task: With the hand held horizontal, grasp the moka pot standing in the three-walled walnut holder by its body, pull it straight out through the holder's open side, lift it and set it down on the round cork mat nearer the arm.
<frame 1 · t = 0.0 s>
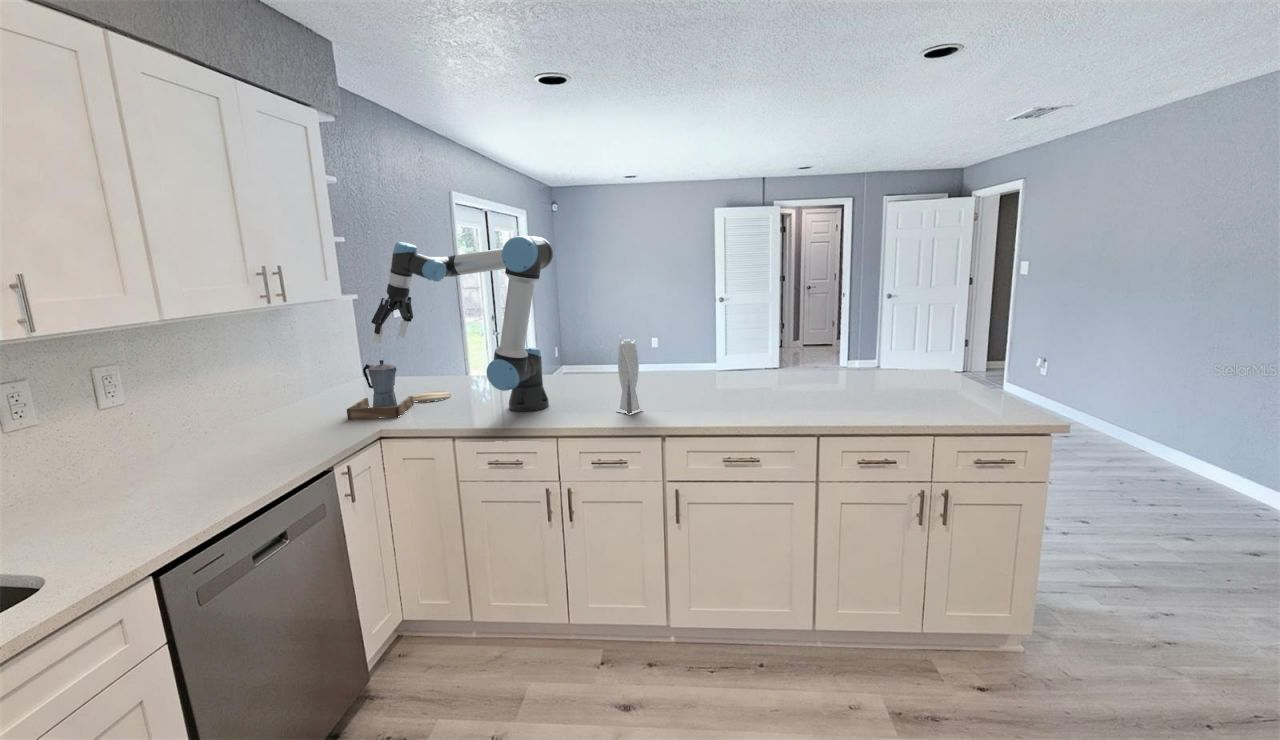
hand: (389, 339, 212), 28 cm above the worktop, tool tilted 20°, fingers open, 13 cm apart
walnut holder: (384, 410, 218), on the worktop
skyscraper: (629, 411, 208), on the worktop
moka pot: (384, 411, 218), on the worktop
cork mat: (431, 397, 236), on the worktop
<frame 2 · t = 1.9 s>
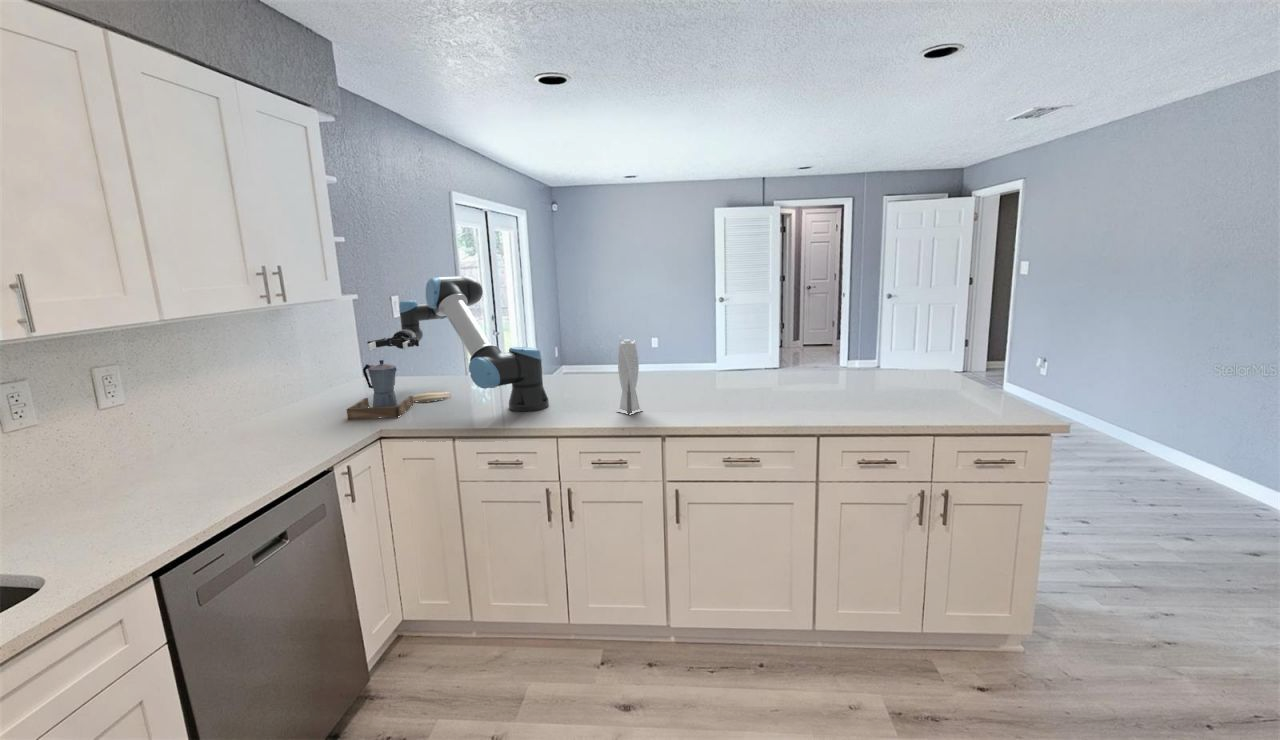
hand: (386, 347, 223), 23 cm above the worktop, tool horizontal, fingers open, 13 cm apart
nothing on the worktop moved.
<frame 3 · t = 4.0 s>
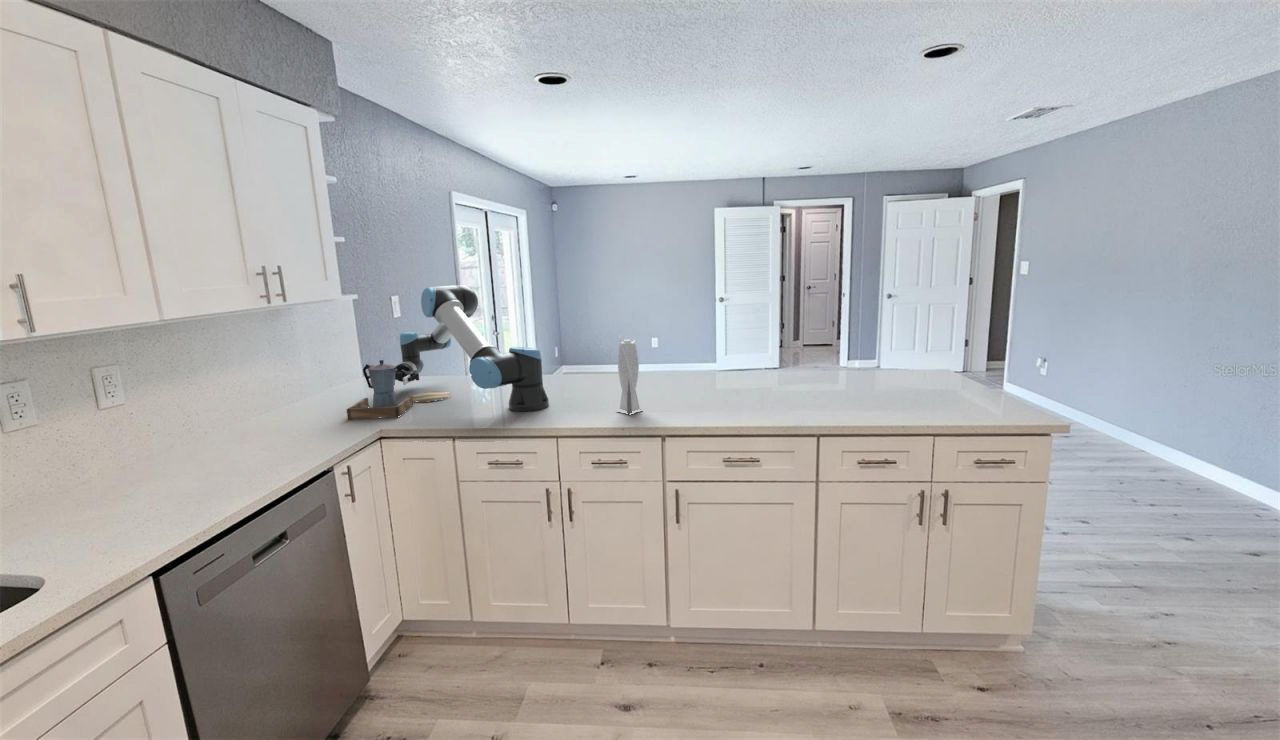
hand: (386, 382, 222), 10 cm above the worktop, tool horizontal, fingers open, 13 cm apart
nothing on the worktop moved.
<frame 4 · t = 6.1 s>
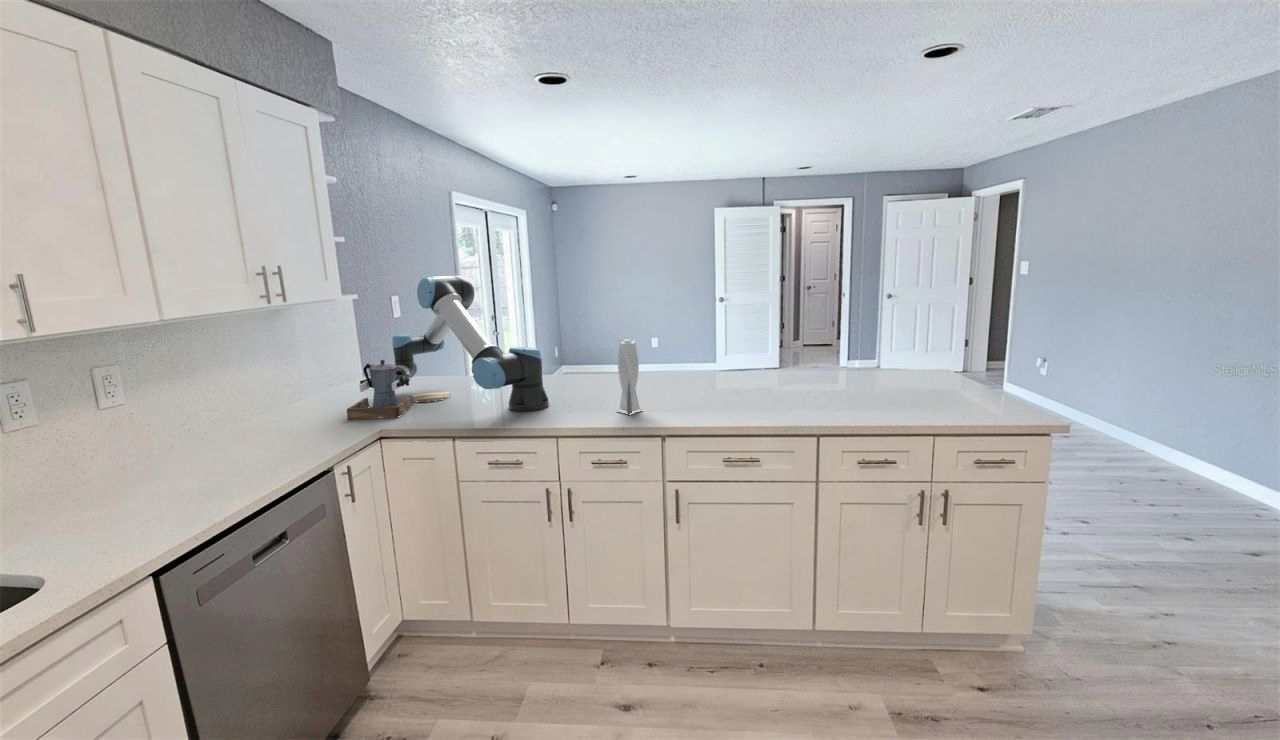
hand: (376, 387, 212), 10 cm above the worktop, tool horizontal, fingers closed on moka pot, 11 cm apart
moka pot: (384, 411, 218), on the worktop, touching gripper
everything else where it was.
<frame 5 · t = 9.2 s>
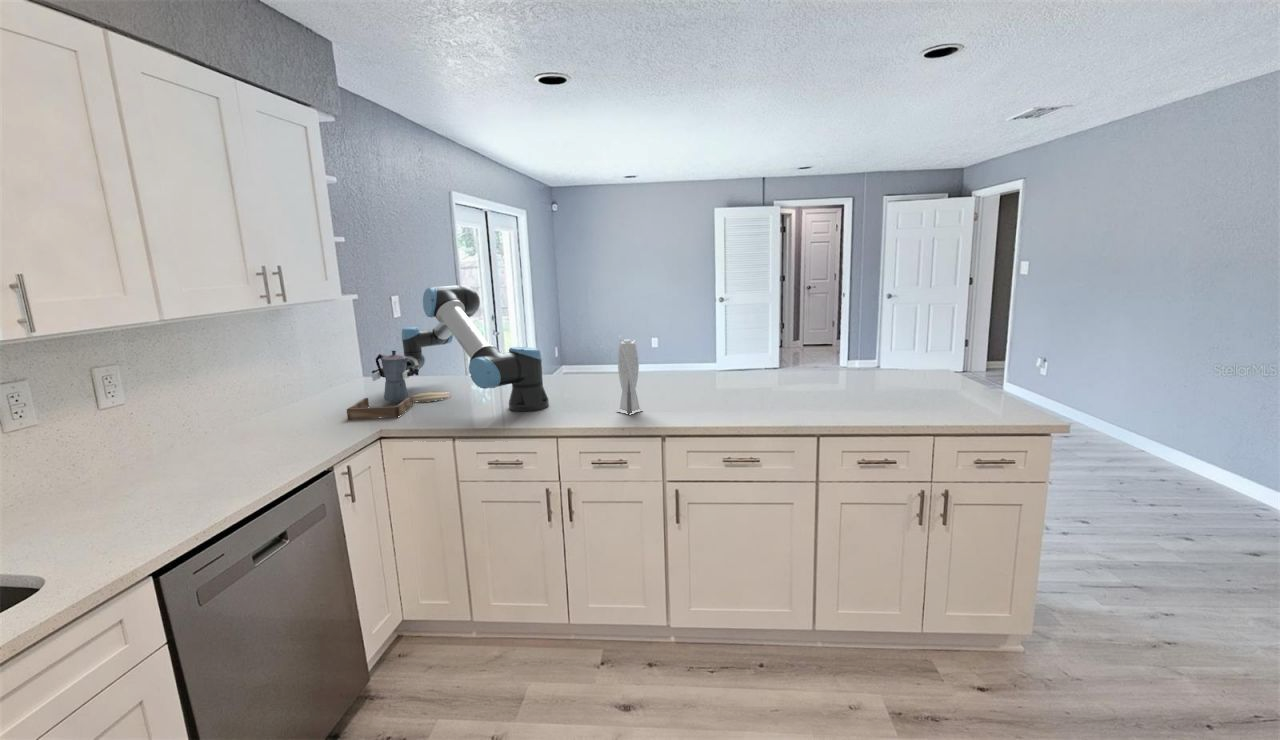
hand: (388, 376, 224), 12 cm above the worktop, tool horizontal, fingers closed on moka pot, 11 cm apart
moka pot: (395, 399, 229), point 1 cm above the worktop, touching gripper
everything else where it was.
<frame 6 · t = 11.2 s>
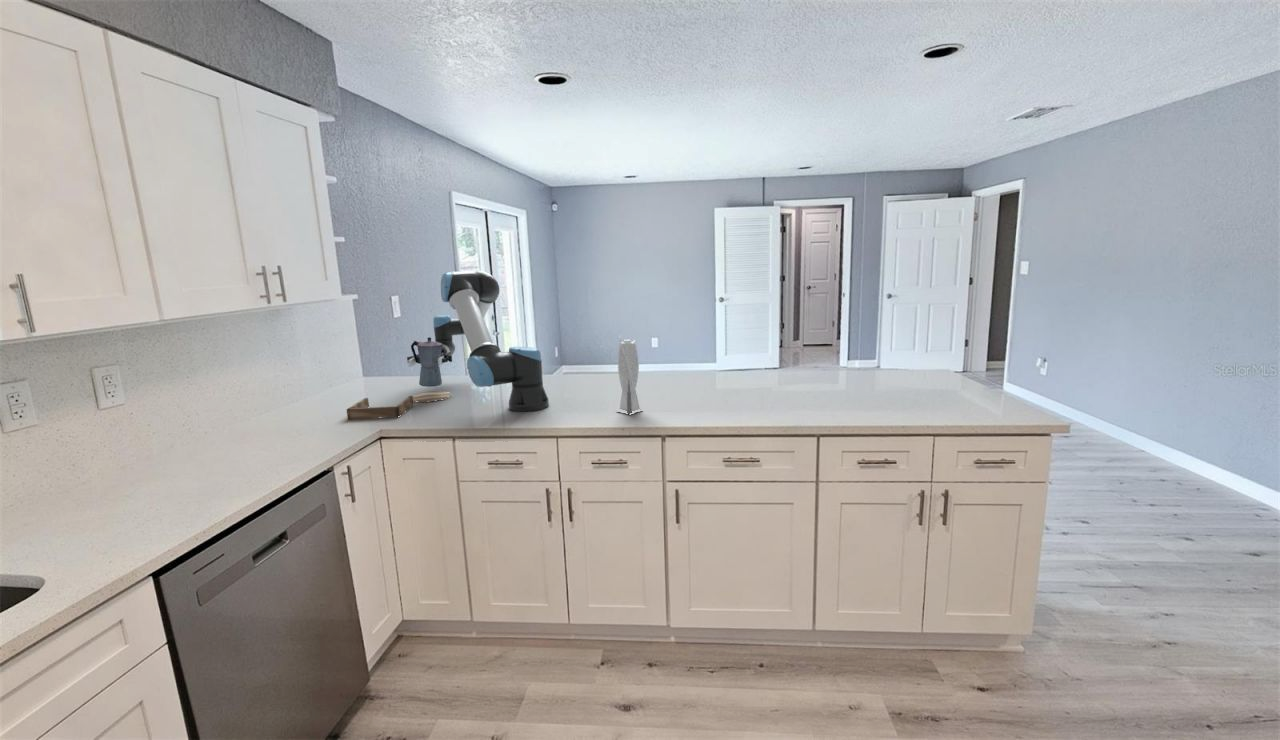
hand: (424, 363, 230), 16 cm above the worktop, tool horizontal, fingers closed on moka pot, 11 cm apart
moka pot: (429, 385, 235), point 5 cm above the worktop, touching gripper
everything else where it was.
when the fingers open (12 cm above the worktop, at t = 12.3 s): moka pot drops 1 cm, resting on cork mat.
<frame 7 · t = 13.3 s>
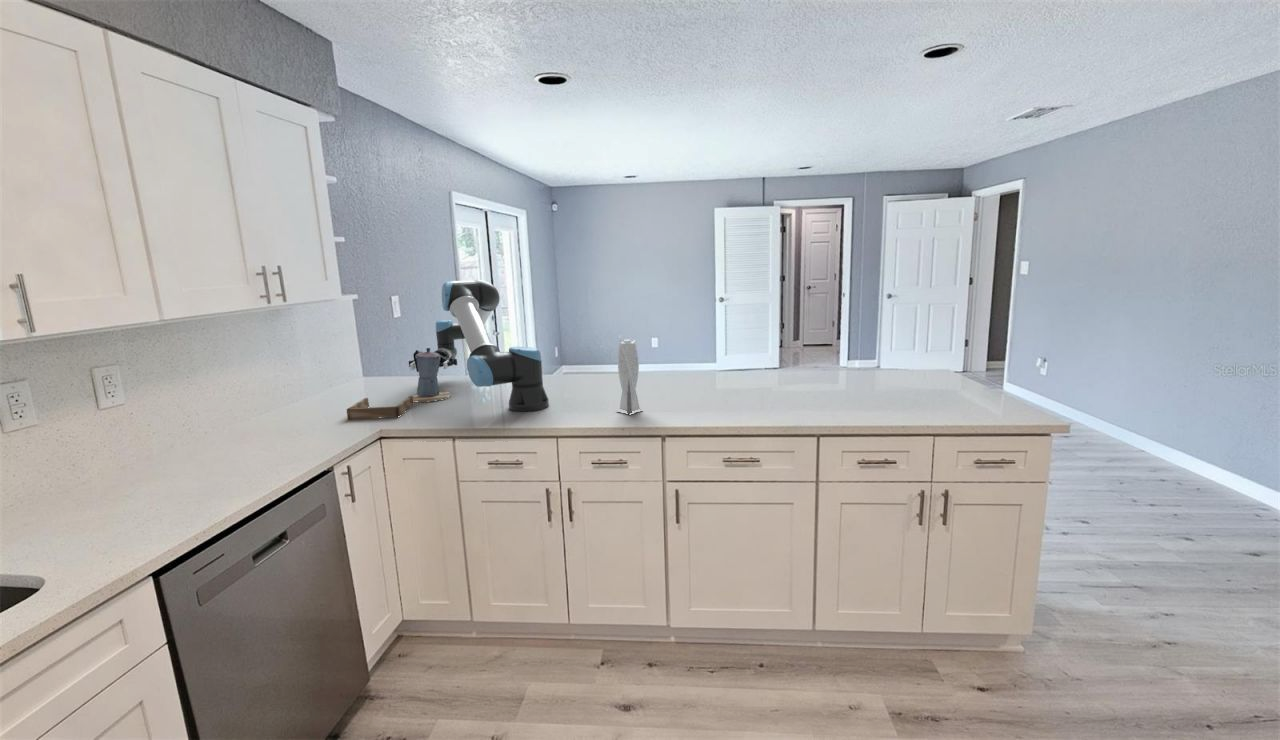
hand: (427, 366, 235), 13 cm above the worktop, tool horizontal, fingers open, 13 cm apart
moka pot: (427, 394, 238), point 1 cm above the worktop, touching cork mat, gripper
everything else where it was.
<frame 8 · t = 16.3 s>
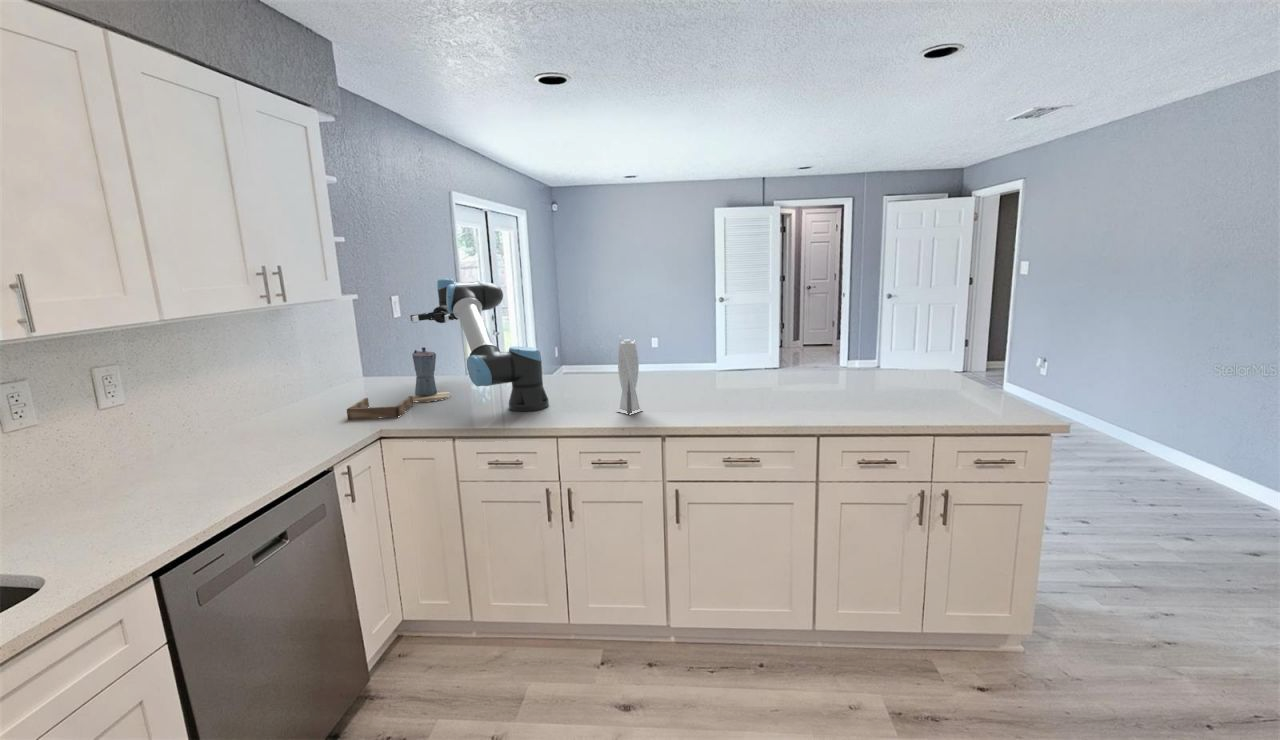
hand: (429, 319, 239), 32 cm above the worktop, tool horizontal, fingers open, 13 cm apart
moka pot: (425, 394, 240), point 1 cm above the worktop, touching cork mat
everything else where it was.
at the end: moka pot 5.0 cm from the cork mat (horizontally); moka pot tilted 1°; the gripper is holding nothing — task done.
